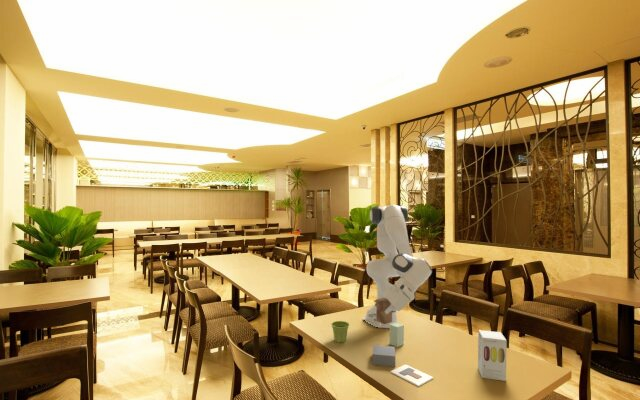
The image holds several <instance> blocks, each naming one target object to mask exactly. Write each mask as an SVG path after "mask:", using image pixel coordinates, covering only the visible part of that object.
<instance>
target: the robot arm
mask: <svg viewBox="0 0 640 400" xmlns="http://www.w3.org/2000/svg"><path fill="white" fill-rule="evenodd" d="M408 218H409V211H408V209H407V207H406V206H404V205H396V204H390V205H380V206H378V205H376V206H373V207H371V209H370V211H369V219H370V222H371V223H372V224H374V225H376V226H377V228H376V248H377V250H378V251H379V252H380V253H383V254H384V257H385V258H379V259H377V258H376V259H372V260H369V261H368V262H367V264H366V269H365V270H366V273H367V275H368V276H369V277H370V278H371V279H372V280H373V281H374V283H375V284H376V285H375V286H376V293H377V295H376V296H377V297H376V299H375V300H373V303H375V304H374V305H372V307H370V308H368V309H367V311H366V316H363V317H362V319H363V320H365V321H366V322H365V321H364V322H365V323H367V322H368V323H367V324H369V325H370V324H371V326H372V325H373V326H372V327H374V326H375V327H374V328H376V327H378V329H382V328H383V329H390V324H392V323H395V322H396V323H399V320H398V315H397V314H398V313H397V311H398V312H400V311H402V310H404V308H405V307H407V306H408V305H409V303H410V302H411V301H414V299H415V298H416V297H415V296H416V295H415V292H417V290H418V288H419V287H421V285H424V283H425V282H427V280H428V279H429V277H430V276H431V275H432V273H433V269H432V267H431V265H430V264H429V263H428V262H427V260H426V259H425V258H421V257H414V256H413V252H412V248H411V246H410V240H409V235H408V229H407V223H406V222H407V221H408ZM394 277H396V278H397V277H399V279H397V281H395V282H394V284H392V283H390V281H389V278H394ZM380 298H387V299H388V300H389V302H390V303H391V305H390V306H389V307H388V308H386V309H385V310H384V312H385V313H386V314H388V313H389V312H391V311H392V322H390V323H387V324H383V323H380V322H377V321H376V311H377V299H380ZM363 320H362V321H363Z"/></svg>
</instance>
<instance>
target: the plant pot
mask: <svg viewBox="0 0 640 400" xmlns="http://www.w3.org/2000/svg"><path fill="white" fill-rule="evenodd" d="M349 326H350V323H349V322H347V321H343V320H336V321H333V322H331V328H332V332H333V339H334V342H336V341H337V342H336V343H341V342H343V343H345V342H346V341H347V336H348V329H349Z"/></svg>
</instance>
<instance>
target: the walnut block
mask: <svg viewBox="0 0 640 400" xmlns="http://www.w3.org/2000/svg"><path fill="white" fill-rule="evenodd" d="M376 299H377V298H376ZM390 305H391V303H390V302H389V300H388V299H387V298H380V299H377V311H376V321H377V322H380V323H383V324H387V323H390V322H392V311H391V312H389V313H388V314H386V313H385V312H384V310H385V309H386V308H388V307H389V306H390Z"/></svg>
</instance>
